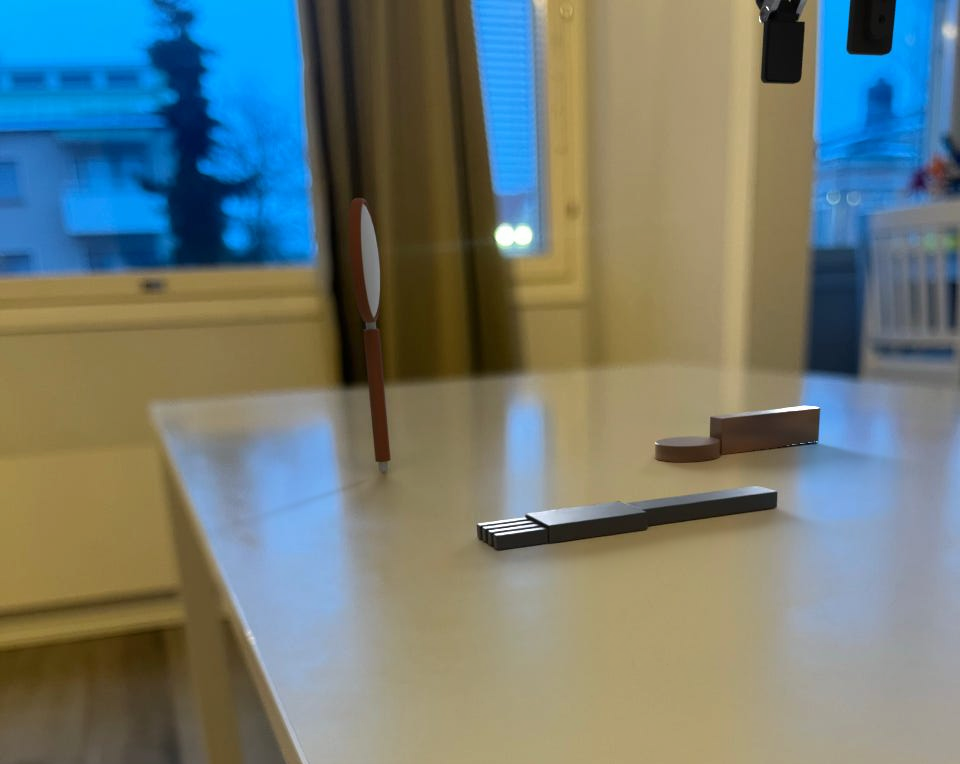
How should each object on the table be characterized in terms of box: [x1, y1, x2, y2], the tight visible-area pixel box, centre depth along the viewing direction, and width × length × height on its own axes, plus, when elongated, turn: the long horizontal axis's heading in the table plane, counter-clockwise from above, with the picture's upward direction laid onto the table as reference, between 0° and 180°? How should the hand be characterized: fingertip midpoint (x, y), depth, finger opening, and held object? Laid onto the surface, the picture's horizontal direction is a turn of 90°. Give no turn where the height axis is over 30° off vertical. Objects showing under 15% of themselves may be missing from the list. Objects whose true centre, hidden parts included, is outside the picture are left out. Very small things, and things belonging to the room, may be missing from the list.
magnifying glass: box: [348, 197, 391, 475], centre depth 75 cm, size 9×2×20 cm, turn 177°
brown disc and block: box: [654, 405, 821, 463], centre depth 78 cm, size 14×5×3 cm, turn 109°
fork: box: [476, 485, 778, 551], centre depth 57 cm, size 18×4×1 cm, turn 109°
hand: (822, 69), depth 70 cm, fingers open, 9 cm apart
